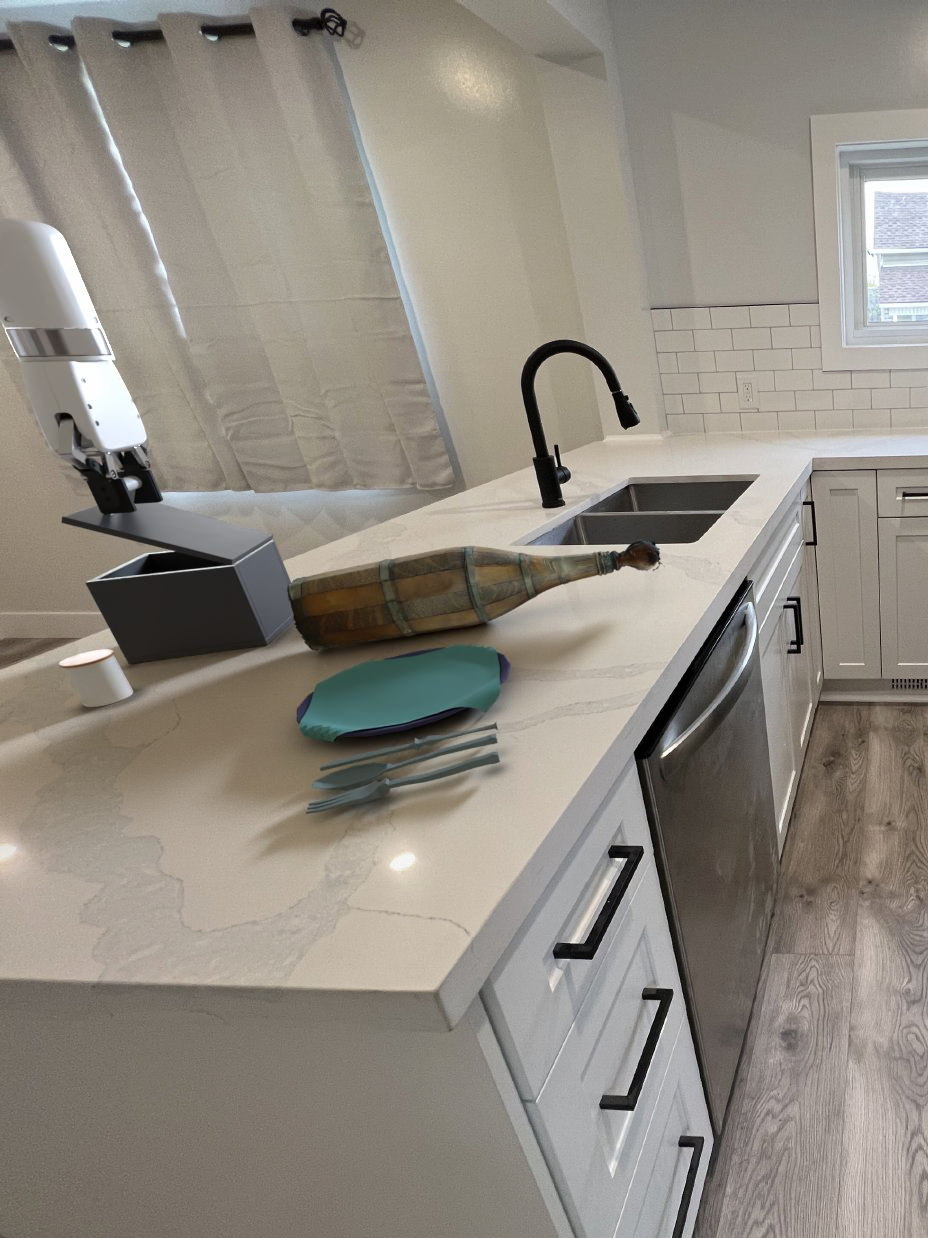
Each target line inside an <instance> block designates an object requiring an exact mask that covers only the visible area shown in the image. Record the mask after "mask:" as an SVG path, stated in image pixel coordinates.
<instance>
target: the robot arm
mask: <svg viewBox="0 0 928 1238" xmlns="http://www.w3.org/2000/svg"><path fill="white" fill-rule="evenodd" d="M0 323H1V326H2V327H3V329H4V331H5V333H6V335H7V337H8V340H9V342H10V344H11V346H12V348H13V350H14V352H15V355H16V357H17V360H18V361H19V367H20V372H21V377H22V381H23V384H24V388H25V390H26V394H27V396H28V399H29V402H30V405H31V407H32V410H33V413H34V415H35V418H36V419H37V420H36V421H37V423H38V425H39V428H40V429H41V432H42V435H43V437H44V439H45V441H46V443H47V445H48V447H49V448H50V450H51V451H52V452H54V453H55V454H56V455H58V457H60V458H61V459H62V460H64V461H65V462H67V463H68V464H70V465H71V466H72V468H74V470H76V471H77V472H79V475H80V478H81V480H83V481H84V482H86V484H87V486H88V488H89V491H90V492H91V495H92V497H93V499H94V501H95V504H96V505H97V506H98V508H99V510H100V512H101V513H103V514H117V513H131V512H135V511H136V510H137V508H136V506H135V504H142V503H161V502H163V501H164V497H163V495H162V493H161V490H160V488H159V485H158V483H157V480H156V478H155V476H154V473H153V471H152V463H151V461H150V460H149V459H148V453H149V451H148V448H147V447H148V443H149V438H148V436H147V432H146V429H145V425H144V423H143V421H142V418H141V415H140V414H139V410H138V409H137V406H136V404H135V403H134V400H133V398H132V396H131V394H130V393H129V390H128V389H127V386H126V383H124V381H123V379H122V377H121V374H120V373H119V371H118V369H117V368H116V366H115V364H114V363H113V361H115V360H116V357H115V355H114V353H113V351H112V348H111V345H110V344H109V341H108V339H107V336H106V333H105V331H104V329H103V327H102V325H101V322H100V319H99V318H98V315H97V312H96V310H95V308H94V304H93V303H92V300H91V298H90V295H89V293H88V290H87V288H86V286H85V283H84V281H83V279H82V277H81V273H80V272H79V269H78V267H77V264H76V262H75V259H74V257H73V255H72V253H71V249H70V248H69V246H68V243H67V241H66V239H65V237H64V236H63V234H62V233H61V232H60V231H59V230H58V229H56V228H55V227H54V226H52V225H50V224H48V223H44V222H41V221H36V220H29V219H23V218H13V217H1V216H0ZM95 449H96V450H95ZM96 459H100V462H101V463H100V462H99V461H98V460H96ZM116 466H117V468H118V469H119V471H117V468H116ZM128 476H135V477H138V478H139V479H140V480H141V481H142V486H141V487H140V488H138V489H136V491H135V497H134V501H133V499H132V497H131V494H130V492H129V490H128V488H127V485H126V483H125V481H124V477H128Z"/></svg>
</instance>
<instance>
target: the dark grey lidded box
mask: <svg viewBox="0 0 928 1238" xmlns="http://www.w3.org/2000/svg"><path fill="white" fill-rule="evenodd" d="M280 553H281V552H280V551H279V548H278V545H277V543H276V541H275V540H273V539H272V540H271V541H269V542H268V543H266V544H265V545H263V546H261V547H260V548H258V549H257V550H255V551H254V552H252V553H250V554H249V555H247V556H246V557H244V558H242V559H241V560H239V561H238V562H236V563H234V564H233V565H227V564H224V563H220V562H216V561H212V560H208V559H204V558H200V557H196V556H192V555H188V554H184V553H180V552H176V551H172V550H165V551H155V552H145V553H143V554H141V555H139V556H137V557H135V558H133V559H130V560H128V561H126V562H124V563H122V564H121V565H118V566H116V567H114V568H112V569H109V570H108V571H106V572H104V573H102V574H100V575H98V576H96V577H93V578H92V579H89V580H87V581H85V582H84V583H85V586H86V587H87V589H88V591H89V593H90V595H91V597H92V598H93V601H94V602H95V604H96V606H97V608H98V610H99V611H100V613H101V616H102V617H103V619H104V621H105V623H106V625H107V627H108V629H109V630H110V632H111V634H112V636H113V638H114V640H115V642H116V644H117V645H118V647H119V648H120V651H121V653H122V655H123V657H124V658H125V661H126V663H127V664H128V665H133V664H139V663H147V662H154V661H155V662H156V661H161V660H170V659H177V658H184V657H190V656H198V655H204V654H212V653H220V652H227V651H234V650H240V649H241V650H242V649H249V648H256V647H262V646H263V647H264V646H268V645H269V644H271V642H273V641H274V640H275V639H276V638H277V637H278V636H279V635H280V634H281V633H282V632H283V631H284V630H285V629H286V628H288V627H289V626H290V625H291V624H292V623H294V622H295V621H294V619H293V612H292V608H291V603H290V601H289V600H288V598H289V597H288V592H287V586H288V585H289V584H291V583H292V580H291V578H290V576H289V574H288V571H287V568H286V566H285V563H284V561H283V558H282V555H281V554H280Z"/></svg>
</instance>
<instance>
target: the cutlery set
mask: <svg viewBox="0 0 928 1238" xmlns="http://www.w3.org/2000/svg"><path fill="white" fill-rule="evenodd" d="M511 668H512V666H511V662H510V661H509V660H508V658H507V656H506V655H505V654H503V653H501V652H499V651H498V648H495V647H492V646H485V645H477V644H474V645H473V644H471V643H470V644H469V643H468V644H465V643H460V644H454V645H450V646H444V647H443V646H442V647H436V648H429V649H423V650H422V649H421V650H415V651H410V652H407V653H402V654H398V655H394V656H389V657H385V658H382V659H375V660H368V661H364V662H360V663H359V664H356V665H354V666H352V667H349V668H347V669H344V670H342V671H340V672H338V673H336V674H334V675H332V676H330V677H328V678H325V679H324V680H321V681H320V682H318V683H316V685H314V689H313V691H312V692H311V693H308V694H307V696H306V697H305V698H304V699H303V700H302V702H301V703H300V704H299V706H298V707H297V708H296V723H297V724H298V725H299V726H298V730H299V731H300V732H301V734H302V735H303V736H304V737H307V738H309V739H316V740H324V741H326V742H331V743H336V741H337V739H338V738H350V737H351V738H355V737H372V736H377V735H384V734H389V733H396V732H401V731H407V730H410V729H414V728H417V727H420V726H423V725H427V724H431V723H435V722H437V721H440V720H442V719H445V718H447V717H449V716H451V715H454V714H457V713H459V712H461V711H463V710H465V709H467V708H471V709H475V710H477V711H480V712H483V713H487V712H488V711H489V710H490V709H491V708H492V706H493V705H494V704H495V703H496V701H497V699H498V697H499V696H500V693H501V692H500V691H501V685H502V684H503V683H504V682H506V680H507V679H508V677H509V674H510V670H511ZM491 730H496V731H499V727H498V723H497V721H495V722H494V723H493V724H488V725H485V726H482V727H478V728H475V729H474V728H473V729H471V730H470V729H469V730H464V731H463V730H462V731H457V732H453V733H449V734H445V735H442V734H441V735H437V734H435V735H434V734H433V735H427V736H426V737H425V738H423V739H419V738H417V737H414V740H413V742H411V743H406V744H400V745H395V746H389V747H385V748H380V749H375V750H372V751H367V752H363V753H359V754H355V755H350V756H347V757H342V758H339V759H335V760H333V761H330V762H327V763H325V764H323V765H321V766H320V767H319V770H320V772H324V771H328V770H331V769H336V768H341V767H344V766H348V767H345V768H341V769H339V770H336V771H333V772H330V773H327V774H326V775H324V776H322V777H320V778H318V779H316V780H313V781H312V784H311V787H310V788H311V789H318V790H327V791H329V790H330V791H338V790H347V789H348V791H345V792H342V793H340V794H339V793H338V794H337V795H335V796H331V797H328V798H323V799H320V800H316V801H311V802H308V804H307V805H308V806H306V811H305V814H306V815H310V814H317V813H323V812H326V811H329V810H333V809H338V808H341V807H346V806H352V805H357V804H362V803H366V802H370V801H373V800H378V799H380V798H383V797H385V796H387V795H389V794H390V792H391V789H395V788H400V787H404V786H405V787H406V786H411V785H417V784H423V783H428V782H432V781H436V780H441V779H443V778H447V777H450V776H453V775H457V774H458V775H459V774H461V773H464V772H466V771H470V770H473V769H477V768H480V767H485V766H489V765H497V764H498V763H500V762H501V758H500V754H499V751H497V750H496V751H491V752H489V753H486V754H483V755H479V756H475V757H472V758H469V759H466V760H463V761H460V762H457V763H455V764H452V765H448V766H446V767H443V768H439V769H436V770H433V771H428V772H425V773H421V774H415V775H410V776H405V777H400V778H397V779H392V780H390V779H389V778H388V777H385V778H383V779H382V780H380V781H378V780H376V779H378V778H379V777H381V776H382V775H384V774H385V773H389V772H392V771H395V770H398V769H402V768H405V767H408V766H410V765H414V764H415V765H416V764H418V763H422V762H425V761H429V760H432V759H435V758H438V757H442V756H446V755H450V754H454V753H455V754H456V753H459V752H463V751H467V750H472V749H475V748H480V747H486V746H491V745H492V746H493V745H496V744H498V743H499V742H498V737H497V733H496V732H495V733H491V734H489V735H485V736H482V737H478V738H475V739H471V740H468V741H464V742H460V743H457V744H453V745H450V746H447V747H442V748H439V749H437V750H434V751H432V752H429V753H426V754H423V755H419V756H416V757H413V758H410V759H406V760H404V761H402V762H399V763H396V764H392V763H390V762H381V761H380V762H379V761H374V762H368V763H362V764H361V763H360V762H366V761H369V760H374V759H378V758H382V757H386V756H390V755H393V754H398V753H402V752H407V751H411V750H415V752H416V753H419V752H420V749H422V748H423V747H429V748H430V747H434V746H435V745H437V744H439V743H441V742H443V741H445V740H450V739H454V738H458V737H462V736H465V735H469V734H475V733H480V732H486V731H491ZM356 763H360V764H356ZM352 764H355V765H352ZM349 765H351V766H349Z"/></svg>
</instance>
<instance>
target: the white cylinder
mask: <svg viewBox="0 0 928 1238" xmlns="http://www.w3.org/2000/svg"><path fill="white" fill-rule="evenodd" d="M58 666H59V668H61V669H62V670H63V672H64V673H65V675H66V677H67V679H68V680H69V683H70V685H72V687H73V689H74V692H76V694H77V696H78V698H79V699H80V701H81V703H82V705H83V706H84V707H86V708H97V707H98V708H99V707H103V706H108V705H111V704H115V703H118V702H120V701H123V700H125V699H127V698H129V697H131V696H132V695H133V694H134V690H133V688H132V686H131V684H130V683H129V680H128V679H127V677H126V675H125V673H124V671H123V670H122V668H121V666H120V664H119V662H118V660H117V658H116V656H115V652H114V651H113V650H112V649H109V648H105V649H104V648H103V649H95V650H90V651H85V652H81V653H77V654H74V655H71V656H69V657H65V658H64V659H62V660H61V661H59V663H58Z"/></svg>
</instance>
